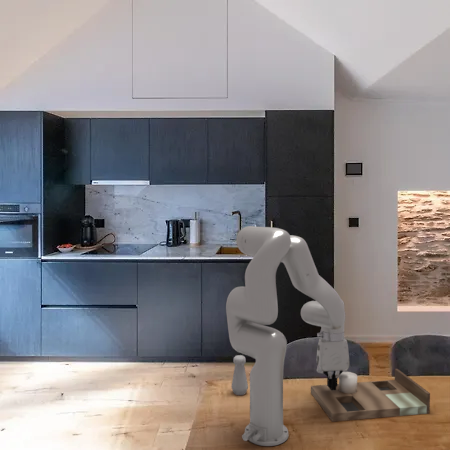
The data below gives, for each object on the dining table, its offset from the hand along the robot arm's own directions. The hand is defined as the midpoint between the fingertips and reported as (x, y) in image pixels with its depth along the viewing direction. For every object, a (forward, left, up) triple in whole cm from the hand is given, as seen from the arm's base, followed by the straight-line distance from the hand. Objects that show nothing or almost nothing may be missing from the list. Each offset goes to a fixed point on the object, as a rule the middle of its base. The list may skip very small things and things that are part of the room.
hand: (332, 388), depth 156 cm
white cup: (+4, -4, -1) cm, 6 cm away
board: (+4, -11, -3) cm, 12 cm away
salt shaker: (-15, +28, -4) cm, 32 cm away
